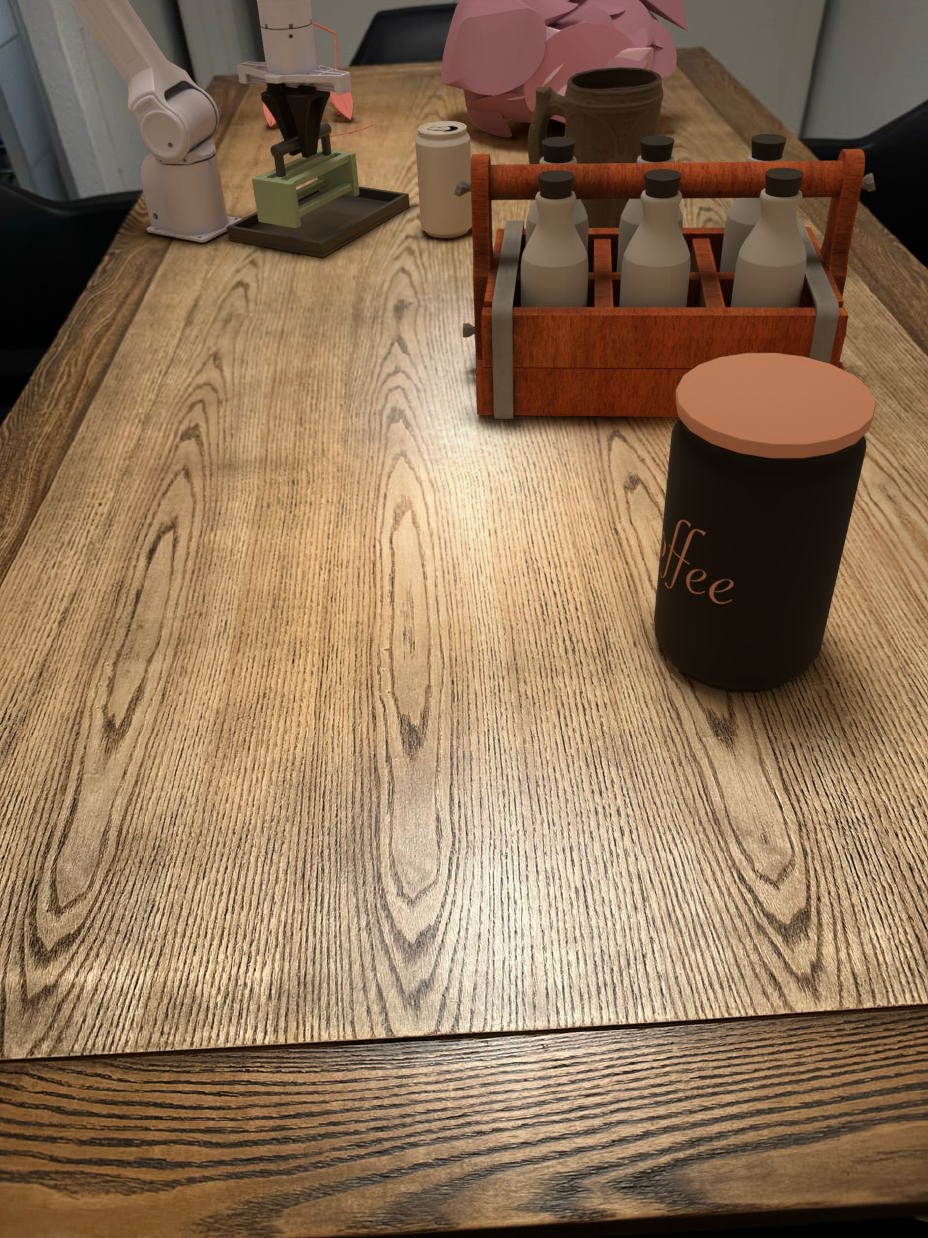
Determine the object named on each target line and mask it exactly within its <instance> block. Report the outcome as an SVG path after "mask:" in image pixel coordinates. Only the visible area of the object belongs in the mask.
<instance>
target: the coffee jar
mask: <svg viewBox="0 0 928 1238" xmlns="http://www.w3.org/2000/svg"><path fill="white" fill-rule="evenodd" d="M676 406H677V412H678V417H676V418H677V419H676V421H675V422H674V424H673V426H672V429H671V433H670V443H669V444H670V445H669V453H668V455H669V456H668V466H667V476H666V485H665V496H664V497H665V498H664V507H663V508H664V509H663V517H662V518H663V519H662V529H661V539H660V540H661V541H660V551H659V560H658V561H659V562H658V571H657V581H656V582H657V583H656V592H655V601H654V603H655V604H654V613H653V625H654V634H655V636H654V637H655V638H656V640H657V642H658V644H659V646H660V647H661V649H662V650H663V652H664V654H665V655H666V657H667V658H668V659H669V660H670V663H671V664H672V665H673V666H675V668H677V669H678V670H679V671H681V673H683V674H684V675H685V676H687V678H689V679H692V680H694V681H696V682H698V683H699V684H703V685H705V686H707V687H710V688H714V689H717V690H722V691H726V692H731V693H760V692H764V691H770V690H773V689H778V688H780V687H782V686H784V685H786V684H788V683H790V682H792V681H795V680H796V679H797V678H798V677H799V676H801V675H803V674H804V673H805V672H806V671H807V670H808V669H809V668H810V667H811V666H812V665H813V664H814V662H815V661H816V660H817V659H818V657H819V656H820V655H821V650H822V645H823V641H824V637H825V633H826V627H827V624H828V618H829V615H830V612H831V611H830V610H831V607H832V606H831V605H832V602H833V597H834V592H835V588H836V585H837V579H838V575H839V571H840V566H841V561H842V558H843V554H844V550H845V549H844V548H845V544H846V540H847V536H848V531H849V526H850V522H851V518H852V514H853V508H854V504H855V500H856V496H857V491H858V487H859V483H860V479H861V474H862V469H863V465H864V460H865V456H866V451H867V449H868V448H867V447H868V446H867V439H866V437H865V435H867V433H868V432H869V431H870V428H871V426H872V422H873V419H874V415H875V411H876V407H877V403H876V400H875V398H874V396H873V394H872V391H871V389H870V387H868V385H866V384H865V383H863V381H861V380H860V379H859V378H858V377H857V376H855V375H854V374H852V373H850V372H848V371H846V370H845V371H844V370H842V369H840V368H838V367H836V366H834V365H832V364H828V363H825V362H821V361H817V360H814V359H810V358H807V357H802V356H794V355H786V354H779V353H745V354H738V355H731V356H725V357H719V358H717V359H714V360H711V361H708V362H705V363H702V364H700V365H698V366H696V367H695V368H693V369H692V370H691V371H689V372H688V373H686V374H685V375H684V376H683V378H682V379H681V381H680V383H679V385H678V387H677V389H676Z"/></svg>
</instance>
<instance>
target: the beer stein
mask: <svg viewBox="0 0 928 1238" xmlns="http://www.w3.org/2000/svg"><path fill="white" fill-rule="evenodd" d="M662 79H663V78H661V76H660V75H659V74H658V73H656V72H654V71H651V70H647V69H642V68H627V67H616V68H601V69H593V70H588V71H583V72H580V73H577V74H574V75H573V76H571V77H570V78H569V79H568V81H567V88H566V92H565V96H562V95H559V94H557V93H555V91H554V90H553V89H552V87H549V86H547V87H538V88H536V103H535V109H534V113H533V116H532V120H531V123H529V124H530V125H529V129H528V134H527V155H528V164H539V162H540V159H541V158H542V157H543V149H542V141H543V140H544V139H547V138H548V126H549V123H550V121H551V120H552V119H551V117H553V116H554V115H558V116H562V117H564V118H565V123H564V136H563V137H568V138H572V139H574V140H575V141H576V142H575V148H574V154H573V156H574V157H575V158H576V160H577V164H598V163H637V159H638V157H639V156H640V155H641V148H640V140H641V138H644V137H647V136H655V135H658V136H660V135H659V126H660V118H661V111H662V103H663V100H664V94H665V93H664V88H663V82H662V81H663V80H662ZM550 119H551V120H550ZM581 201H582V204H583V206H584V208H585V210H586V213H587V216H588V225H589V226H588V228H619V224H620V219H621V215H622V213H623V211H624V208H625V206H626V204H627V203H628V201H629V199H581Z"/></svg>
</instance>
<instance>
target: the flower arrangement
mask: <svg viewBox="0 0 928 1238" xmlns="http://www.w3.org/2000/svg"><path fill="white" fill-rule="evenodd" d="M654 14H655V15H656V16H659V17H661V18H662V19H664V20H666V21H667V22H669V23H671V24H673V25H675V26H676V27H678V28H680V29H682V30H684V31H686V32H689V28H688V24H687V18H686V13H685V9H684V4H683V0H458V1H457V4H456V7H455V9H454V12H453V16H452V19H451V22H450V25H449V28H448V29H449V30H448V33H447V36H446V41H445V45H444V49H443V54H442V63H441V72H440V73H441V74H440V75H441V76H440V80H441V85H445V86H449V87H452V88H455V89H460V90H463V97H464V102H465V107H466V111H467V114H468V117H469V118H470V120H471V122H472V123H473V125H475V126H476V127H477V128H478V129H479V130H481V131H483V132H485V133H486V134H487V133H488V134H490V135H493V136H497V137H500V138H511V137H512V132H511V129H510V127H509V126H508V123H507V122H506V120H510V121H512V122H518V123H529V124H531V120H532V116H533V113H534V109H535V103H536V88H538V87H547V86H549V87H552V89H553V90H554V91H555V93H557V94H559V95H562V96H565V92H566V88H567V81H568V79H569V78H570V77H571V76H573V75H574V74H577V73H580V72H583V71H588V70H593V69H601V68H616V67H627V68H642V69H647V70H651V71H654V72H656V73H658V74H659V75H660V76H661V79H664V78H668V77H670V76H671V75H672V74H673V73H674V72H675V70H676V68H677V63H678V62H677V61H678V55H677V48H676V44H675V42H674V38H673V37H672V35H671V33H670V32H669V30H668V29H667V28H666V26H665V25H663V24H662V23H661V22H660V21H659V19H658V18H657V17H656V16H655V15H654ZM551 120H555V121H557V122H560V123H563V124H565V118H564V117H562V116H558V115H554V116H553V117H551V119H550V120H549V121H551Z"/></svg>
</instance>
